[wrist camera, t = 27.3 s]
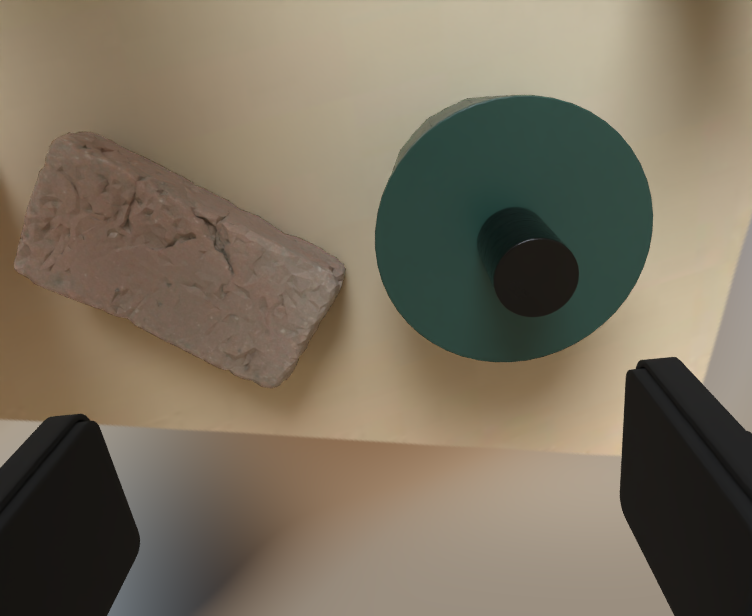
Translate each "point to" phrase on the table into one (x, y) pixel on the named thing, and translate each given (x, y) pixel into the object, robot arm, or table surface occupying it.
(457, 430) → the table surface
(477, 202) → the pot lid
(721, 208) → the table surface
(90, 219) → the brick
